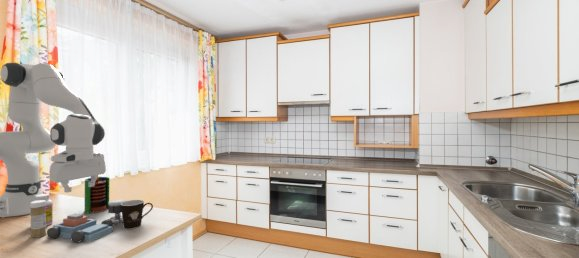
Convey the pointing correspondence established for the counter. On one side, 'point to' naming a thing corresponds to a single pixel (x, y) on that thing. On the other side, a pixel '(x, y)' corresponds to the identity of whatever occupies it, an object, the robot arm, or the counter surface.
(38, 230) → the sprinkles bottle
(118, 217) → the axle mount
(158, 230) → the counter surface
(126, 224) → the coffee mug
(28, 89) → the robot arm
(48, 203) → the supplement bottle
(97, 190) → the motor
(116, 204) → the wheel
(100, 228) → the chassis
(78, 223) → the block
